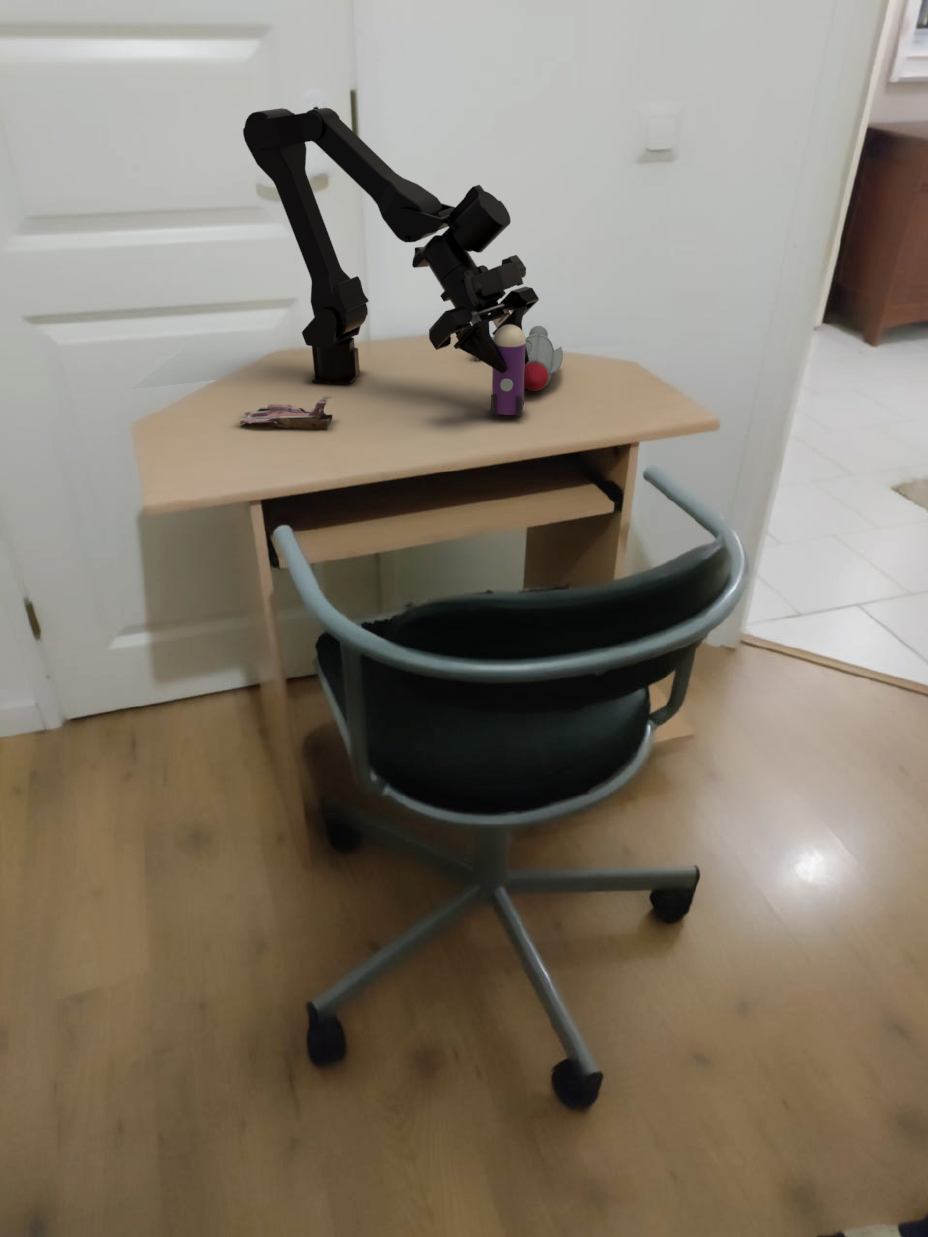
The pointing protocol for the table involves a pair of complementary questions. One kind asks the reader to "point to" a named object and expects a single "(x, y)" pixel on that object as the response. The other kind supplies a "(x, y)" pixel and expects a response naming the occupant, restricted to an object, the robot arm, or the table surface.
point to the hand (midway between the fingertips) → (516, 367)
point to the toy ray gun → (540, 359)
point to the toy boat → (291, 415)
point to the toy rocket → (509, 372)
